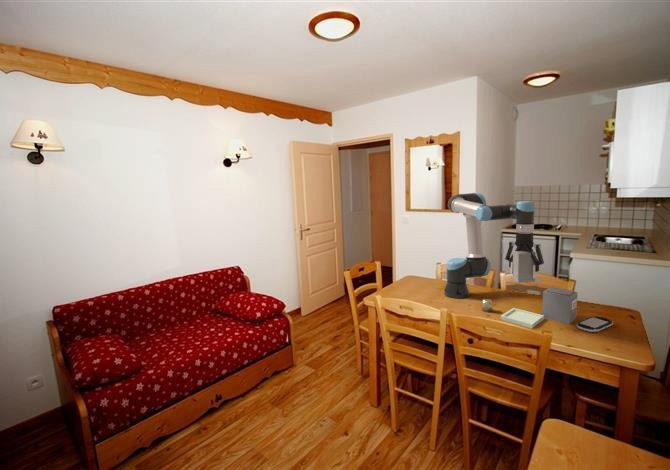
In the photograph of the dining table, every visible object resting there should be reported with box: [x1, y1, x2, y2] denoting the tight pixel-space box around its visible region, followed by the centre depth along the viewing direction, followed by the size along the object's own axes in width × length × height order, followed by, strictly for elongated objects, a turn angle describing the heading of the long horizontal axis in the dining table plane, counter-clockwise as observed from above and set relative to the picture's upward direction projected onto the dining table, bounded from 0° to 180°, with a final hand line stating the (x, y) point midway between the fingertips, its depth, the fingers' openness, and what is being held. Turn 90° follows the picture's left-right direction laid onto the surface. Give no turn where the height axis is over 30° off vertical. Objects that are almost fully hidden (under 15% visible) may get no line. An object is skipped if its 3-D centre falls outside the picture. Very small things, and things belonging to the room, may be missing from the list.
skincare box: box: [512, 250, 536, 284], centre depth 160 cm, size 8×7×16 cm
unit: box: [541, 286, 578, 325], centre depth 162 cm, size 12×10×15 cm
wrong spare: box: [481, 298, 493, 313], centre depth 178 cm, size 5×5×6 cm
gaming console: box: [575, 315, 614, 333], centre depth 153 cm, size 19×9×2 cm, turn 115°
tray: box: [500, 307, 545, 329], centre depth 165 cm, size 15×15×2 cm
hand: (523, 275), depth 161 cm, fingers closed on skincare box, 10 cm apart
